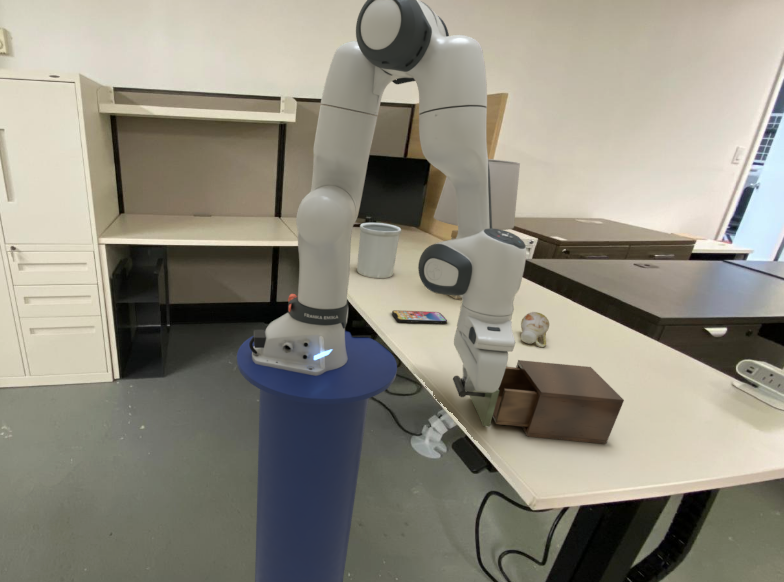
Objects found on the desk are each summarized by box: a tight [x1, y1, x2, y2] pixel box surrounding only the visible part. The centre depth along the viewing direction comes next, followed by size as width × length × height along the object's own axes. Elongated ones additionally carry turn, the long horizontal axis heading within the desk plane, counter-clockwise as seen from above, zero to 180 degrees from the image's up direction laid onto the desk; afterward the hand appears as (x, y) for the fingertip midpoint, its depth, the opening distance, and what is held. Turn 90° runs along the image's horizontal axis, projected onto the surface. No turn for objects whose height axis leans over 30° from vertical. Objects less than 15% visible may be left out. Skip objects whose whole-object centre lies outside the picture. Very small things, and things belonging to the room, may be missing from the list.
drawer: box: [452, 366, 538, 428], centre depth 90 cm, size 18×11×8 cm, turn 87°
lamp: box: [433, 158, 521, 300], centre depth 152 cm, size 25×25×44 cm
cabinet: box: [515, 359, 625, 445], centre depth 90 cm, size 15×13×10 cm
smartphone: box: [391, 309, 448, 325], centre depth 137 cm, size 7×1×15 cm
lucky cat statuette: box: [520, 311, 550, 348], centre depth 128 cm, size 8×10×10 cm
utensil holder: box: [356, 222, 402, 279], centre depth 173 cm, size 15×15×18 cm
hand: (467, 387), depth 90 cm, fingers closed, pressing on drawer
